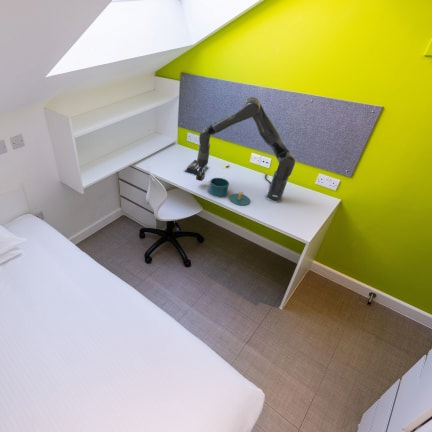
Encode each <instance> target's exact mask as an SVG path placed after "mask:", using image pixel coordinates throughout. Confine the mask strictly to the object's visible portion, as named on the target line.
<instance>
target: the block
mask: <svg viewBox="0 0 432 432" xmlns="http://www.w3.org/2000/svg"><path fill="white" fill-rule="evenodd" d="M197 177H198V176H196V175H195V180H196V181H198V180H197ZM205 177H206V172H202V173H201V179H200V181H199V182H203V181H204V180H205V179H206V178H205Z"/></svg>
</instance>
